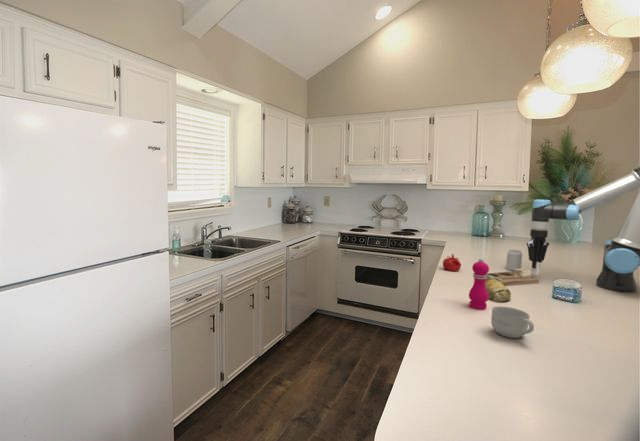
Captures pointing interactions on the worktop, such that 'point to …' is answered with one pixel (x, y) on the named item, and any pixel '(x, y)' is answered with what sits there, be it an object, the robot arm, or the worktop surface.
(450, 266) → the pomegranate
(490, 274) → the board
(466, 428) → the worktop surface
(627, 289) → the robot arm
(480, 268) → the pepper mill
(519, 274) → the birch block
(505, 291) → the pastry
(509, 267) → the can
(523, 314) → the teacup
